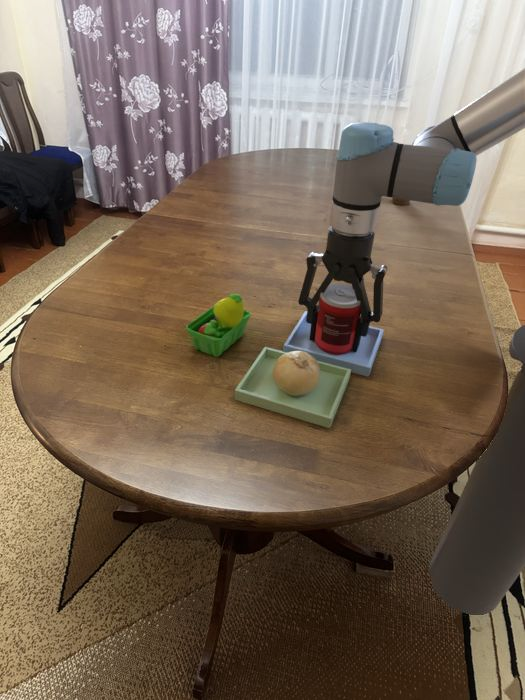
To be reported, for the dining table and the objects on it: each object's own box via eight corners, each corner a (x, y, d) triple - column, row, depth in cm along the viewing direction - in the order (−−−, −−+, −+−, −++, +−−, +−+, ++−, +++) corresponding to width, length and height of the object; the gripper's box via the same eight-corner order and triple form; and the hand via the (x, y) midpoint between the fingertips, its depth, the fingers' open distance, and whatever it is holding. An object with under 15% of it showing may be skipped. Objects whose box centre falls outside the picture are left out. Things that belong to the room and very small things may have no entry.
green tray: (349, 378, 82) (351, 369, 81) (329, 428, 72) (331, 419, 71) (264, 355, 87) (264, 346, 85) (234, 399, 77) (234, 390, 75)
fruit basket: (220, 322, 95) (218, 272, 88) (257, 335, 92) (258, 285, 85) (185, 350, 87) (181, 297, 80) (224, 366, 84) (223, 312, 77)
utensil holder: (402, 206, 155) (410, 169, 148) (387, 201, 159) (394, 164, 152) (412, 203, 158) (421, 166, 151) (398, 198, 162) (405, 162, 155)
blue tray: (381, 338, 92) (383, 329, 91) (368, 377, 83) (370, 367, 81) (304, 319, 97) (305, 311, 96) (282, 354, 87) (283, 345, 86)
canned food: (339, 328, 94) (347, 279, 87) (362, 350, 88) (372, 299, 81) (306, 336, 91) (311, 287, 84) (328, 359, 85) (335, 308, 79)
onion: (262, 386, 79) (263, 353, 74) (291, 365, 83) (294, 332, 79) (299, 409, 74) (303, 375, 70) (327, 385, 79) (333, 352, 75)
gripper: (284, 225, 76) (277, 339, 89) (413, 249, 70) (384, 367, 84) (299, 210, 81) (290, 320, 95) (419, 231, 76) (391, 345, 89)
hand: (334, 342), depth 89 cm, fingers closed on canned food, 8 cm apart
